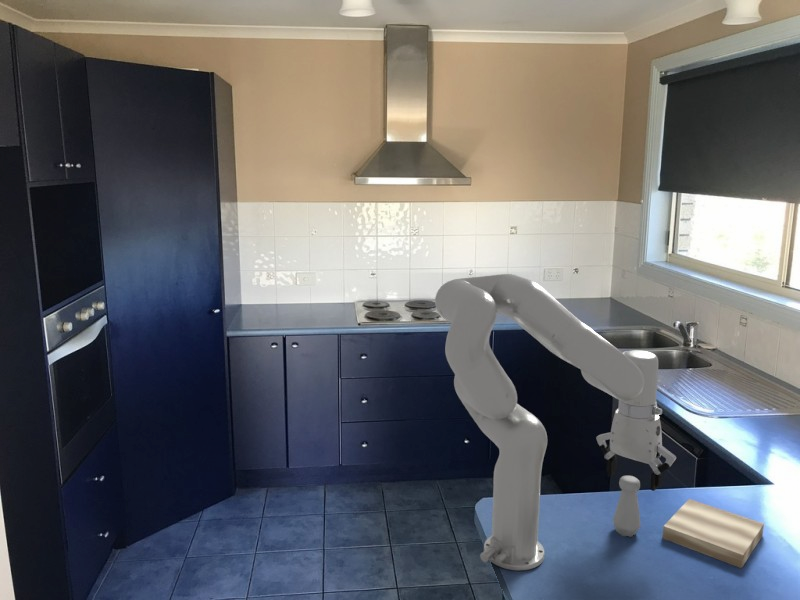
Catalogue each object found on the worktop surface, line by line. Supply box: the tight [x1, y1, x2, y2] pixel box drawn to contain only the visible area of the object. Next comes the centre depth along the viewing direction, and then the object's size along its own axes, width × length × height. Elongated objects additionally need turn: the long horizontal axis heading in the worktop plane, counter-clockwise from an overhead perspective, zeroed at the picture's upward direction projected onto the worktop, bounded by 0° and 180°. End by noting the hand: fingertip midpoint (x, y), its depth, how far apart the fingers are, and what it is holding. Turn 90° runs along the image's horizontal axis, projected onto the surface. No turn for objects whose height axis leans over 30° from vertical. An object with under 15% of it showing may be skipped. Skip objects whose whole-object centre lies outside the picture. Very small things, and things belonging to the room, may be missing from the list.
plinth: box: [662, 498, 765, 569], centre depth 143 cm, size 16×16×3 cm
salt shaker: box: [612, 475, 642, 538], centre depth 144 cm, size 6×6×13 cm
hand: (632, 481), depth 143 cm, fingers open, 9 cm apart
